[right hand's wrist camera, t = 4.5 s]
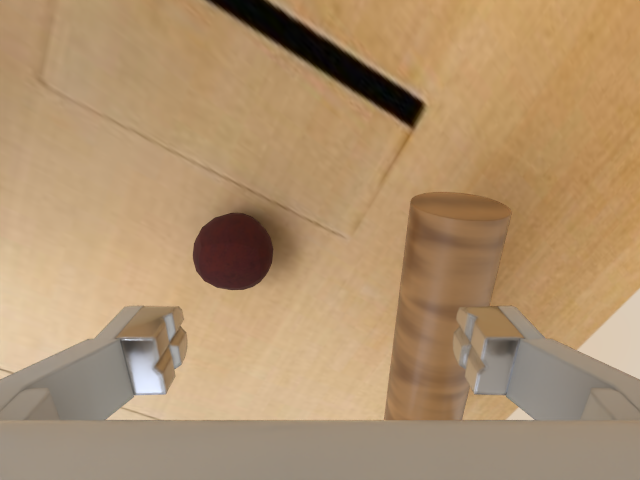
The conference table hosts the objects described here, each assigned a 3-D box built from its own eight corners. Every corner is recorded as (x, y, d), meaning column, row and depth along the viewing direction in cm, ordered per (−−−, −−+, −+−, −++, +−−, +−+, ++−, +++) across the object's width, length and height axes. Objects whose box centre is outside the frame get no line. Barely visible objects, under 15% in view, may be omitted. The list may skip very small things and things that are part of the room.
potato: (278, 267, 39) (271, 303, 33) (208, 268, 39) (186, 304, 33) (275, 204, 36) (265, 229, 30) (199, 204, 36) (173, 230, 30)
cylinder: (401, 191, 26) (425, 220, 20) (485, 192, 26) (532, 221, 20) (373, 441, 36) (384, 507, 31) (433, 441, 36) (455, 507, 31)
